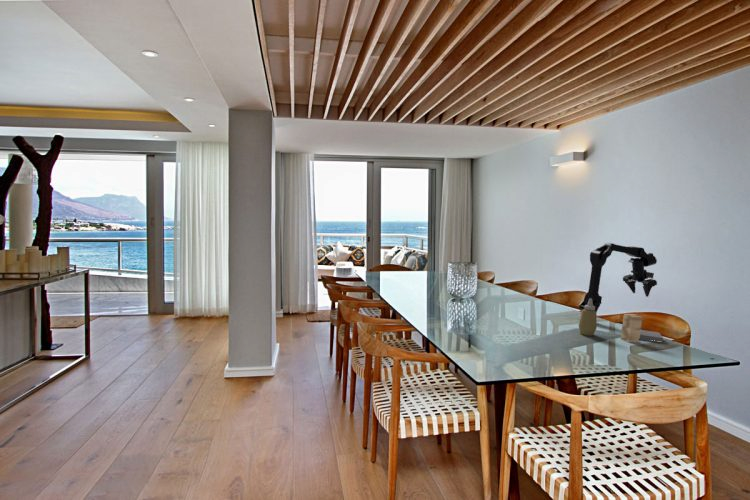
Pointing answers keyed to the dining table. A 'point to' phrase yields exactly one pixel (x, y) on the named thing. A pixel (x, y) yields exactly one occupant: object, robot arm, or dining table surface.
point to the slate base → (650, 335)
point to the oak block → (631, 328)
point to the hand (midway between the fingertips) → (640, 294)
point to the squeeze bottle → (588, 319)
